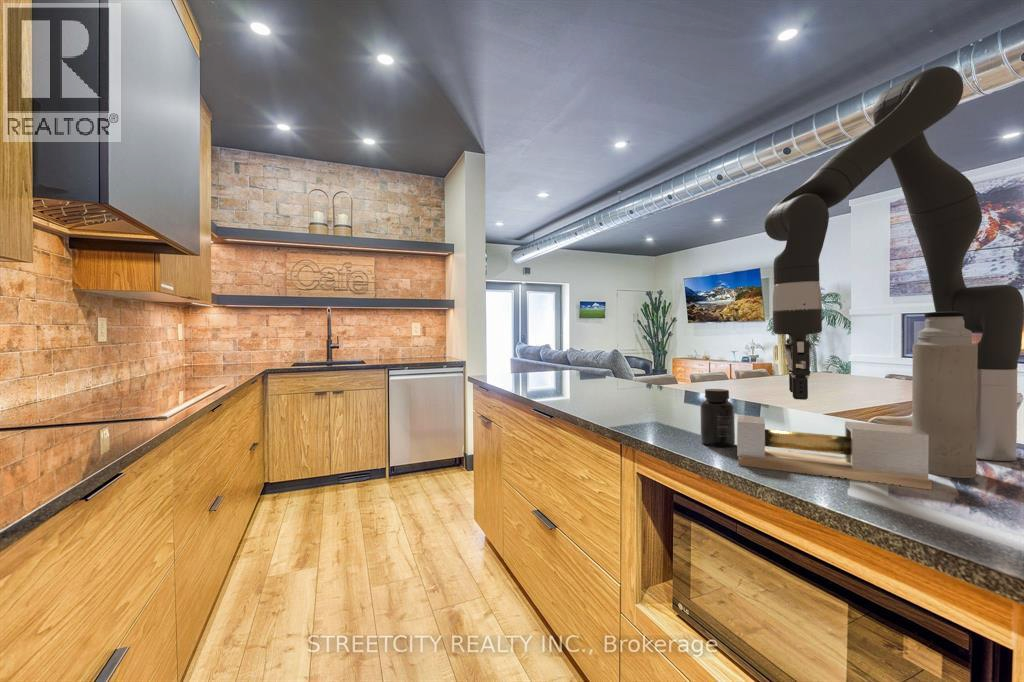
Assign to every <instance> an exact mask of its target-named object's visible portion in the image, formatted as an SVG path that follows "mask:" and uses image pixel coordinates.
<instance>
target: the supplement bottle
mask: <svg viewBox="0 0 1024 682" xmlns="http://www.w3.org/2000/svg"><path fill="white" fill-rule="evenodd" d="M704 398H705V400H703V401H702V402H701V404H700V406H699V407H700V441H701V443H702V444H703V445H707V446H710V447H715V448H716V447H718V448H728V447H729V448H730V447H733V446H734V445H735V443H736V433H735V432H736V431H735V429H736V427H735V426H736V425H735V423H736V422H735V406H734V404H733V403H732V402H730V401H729V399H730V391H729V389H723V388H705V389H704Z"/></svg>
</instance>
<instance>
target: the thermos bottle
mask: <svg viewBox="0 0 1024 682" xmlns="http://www.w3.org/2000/svg"><path fill="white" fill-rule="evenodd" d="M962 316H964V312H936V311H931V312H925V313H924V318H925V321H924V328H923V329H920V330H919V331H917V333H918V335H917V338H916V339H917V342H915V343H913V344H912V377H911V378H912V379H911V380H912V385H911V386H912V387H911V389H912V390H911V391H912V395H911V396H912V398H911V400H912V401H911V404H912V407H911V416H912V417H911V421H912V423H911V426H912V427H916V428H918V429H919V430H921V431H923V432H925V433H926V434H928V435H929V440H928V474H932V475H937V476H941V477H948V478H957V479H973V478H975V477H976V476H977V458H976V446H977V421H976V405H977V362H978V345H977V343H975V342H973V337H974V336H973V333H972V331H970V330H968V329H966V328H965V327H964V320H963V317H962Z"/></svg>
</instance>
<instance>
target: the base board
mask: <svg viewBox="0 0 1024 682" xmlns="http://www.w3.org/2000/svg"><path fill="white" fill-rule="evenodd" d="M738 466H744V467H751V468H757V469H758V468H760V469H768V470H772V471H773V470H774V471H775V470H776V471H781V470H782V472H789V473H790V472H791V473H799V474H805V473H806V474H805V475H807V474H808V475H814V476H820V475H823V476H822V477H828V476H832V477H831V478H836V477H840V478H839V479H844V478H847V479H846V480H854V481H861V482H868V481H870V482H869V483H875V482H878V483H877V484H883V483H887V484H886V485H891V484H894V485H893V486H899V485H901V487H908V488H915V489H916V488H917V489H924V490H932V486H933V483H932V482H933V481H932V480H930V479H929V478H928V479H926V478H918V477H909V476H901V475H892V474H884V473H876V472H867V471H859V470H852V469H851V462H848V461H845V456H837V455H836V456H835V455H828V454H827V455H826V454H818V453H817V454H816V453H809V452H808V453H806V452H799V451H798V452H797V451H789V450H780V449H772V448H771V449H770V448H765V460H764V459H756V458H748V457H739V456H738Z"/></svg>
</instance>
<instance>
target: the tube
mask: <svg viewBox="0 0 1024 682" xmlns="http://www.w3.org/2000/svg"><path fill="white" fill-rule="evenodd" d="M765 447H766V448H767V447H769V448H776V449H777V448H779V449H788V450H797V451H798V450H799V451H807V452H815V453H826V454H832V455H833V454H835V455H843V456H845V455H851V437H847V436H845V435H833V434H824V433H822V434H821V433H811V432H801V431H800V432H799V431H788V430H776V429H766V428H765Z"/></svg>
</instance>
